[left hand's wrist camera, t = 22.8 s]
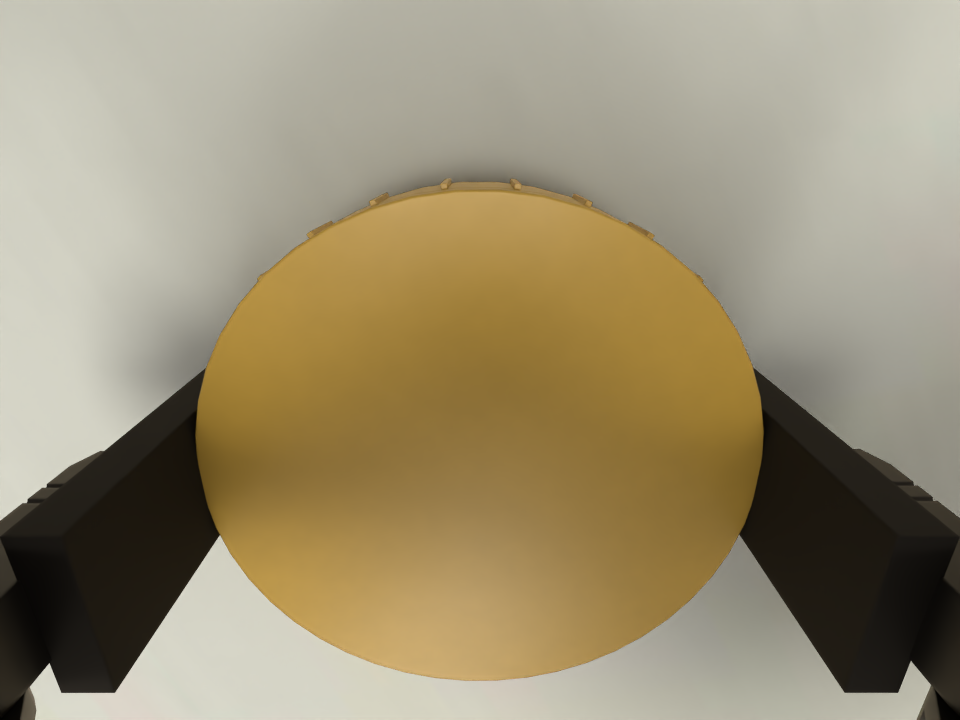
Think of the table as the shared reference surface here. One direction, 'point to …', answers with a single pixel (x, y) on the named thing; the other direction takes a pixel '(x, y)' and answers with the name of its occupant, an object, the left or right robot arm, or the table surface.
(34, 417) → the table surface
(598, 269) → the lid
